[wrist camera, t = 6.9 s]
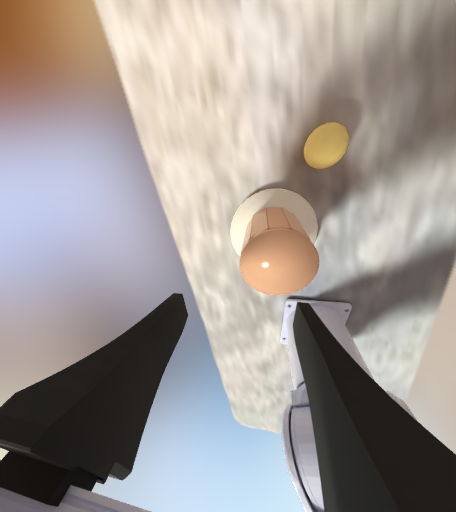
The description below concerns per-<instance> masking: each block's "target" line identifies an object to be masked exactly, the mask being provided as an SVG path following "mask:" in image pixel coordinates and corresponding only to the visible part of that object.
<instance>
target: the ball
mask: <svg viewBox="0 0 456 512" xmlns="http://www.w3.org/2000/svg"><path fill="white" fill-rule="evenodd" d="M348 143H349V135H348V132H347V130H346V128H345V127H344V126H343V125H341V124H339V123H335V122H330V123H326V124H323V125H321V126H319V127H318V128H316V129H315V130H314V131H313V132H312V133H311V134H310V136H309V137H308V139H307V141H306V143H305V146H304V158H305V160H306V162H307V164H308V165H309V166H311V167H313V168H316V169H324V168H328V167H330V166H332V165H334V164H335V163H337V162H338V161H339V160H340V159H341V158H342V156H343V155H344V153H345V152H346V150H347V147H348Z"/></svg>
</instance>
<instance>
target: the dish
mask: <svg viewBox="0 0 456 512" xmlns="http://www.w3.org/2000/svg"><path fill="white" fill-rule="evenodd" d="M269 207H282V208H284V209H286V210H287V211H289V212H291V213H293V214H294V215H295V217H296V218H297V220H298V221H299V223H300V224H301V226H302V227H303V229H304V230H305V232H306V233H307V235H308V236H309V238H310V240H311V242H312V243H313V244H314V242H315V240H316V236H317V231H318V222H317V217H316V214H315V212H314V210H313V208H312V206H311V205H310V204H309V202H307V201H306V200H305V199H304V198H303V197H302V196H300V195H299V194H297V193H295V192H293V191H290V190H287V189H281V188H272V189H266V190H262V191H259V192H257V193H255V194H253V195H251V196H250V197H249V198H247V199H246V200H245V201H244V202H243V203H242V204H241V205H240V206H239V208H238V209H237V211H236V213H235V215H234V217H233V220H232V223H231V240H232V244H233V246H234V248H235V250H236V252H237V253H238V254H239V256H240V257H241V249H242V245H243V240H244V236H245V231H246V227H247V225H248V223H249V222H250V220H251V218H252V216H253V215H254V214H256V213H258V212H259V211H261V210H263V209H264V208H269Z"/></svg>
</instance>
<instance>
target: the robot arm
mask: <svg viewBox="0 0 456 512" xmlns="http://www.w3.org/2000/svg"><path fill="white" fill-rule="evenodd" d="M351 310H352V305H351V304H350V303H342V302H328V301H314V300H300V299H287V300H286V302H285V309H284V317H283V324H282V331H281V338H280V343H281V344H285V345H287V348H288V355H289V362H290V369H291V375H292V382H293V386H294V389H295V390H293V391H291V398H292V403H290V404H288V405H287V406H286V408H285V411H284V415H283V420H282V444H283V452H284V457H285V461H286V465H287V468H288V472H289V475H290V478H291V481H292V483H293V485H294V488H295V489H296V491H297V493H298V496H299V498H300V500H301V503H302V505H303V508H304V510H305V512H456V454H454V453H453V452H452V451H451V450H450V449H448V448H447V447H446V446H445V445H444V444H443V443H442V442H440V441H439V440H438V439H437V438H436V437H435V436H433V435H432V434H431V433H430V432H429V431H428V430H426V429H425V428H424V427H423V426H422V425H421V424H420V423H419V422H418V421H417V420H416V418H415V417H414V415H413V414H412V412H411V411H410V409H409V408H408V406H407V405H406V404H405V402H404V401H403V400H402V399H400V398H398V397H397V396H394V395H393V394H392V393H391V392H389V391H387V392H385V391H384V390H383V389H382V388H381V387H380V386H379V385H378V384H377V383H376V382H375V381H374V379H373V377H372V375H371V373H370V371H369V369H368V368H367V366H366V364H365V362H364V360H363V358H362V356H361V354H360V352H359V350H358V348H357V347H356V345H355V343H354V341H353V339H352V337H351V335H350V333H349V331H348V329H347V327H346V326H345V324H346V321H347V319H348V317H349V314H350V312H351ZM187 317H188V313H187V310H186V306H185V302H184V298H183V295H182V294H177V293H174V294H172V295H171V296H170V297H169V298H167V299H166V300H165V301H164V302H163V303H161V304H160V305H159V306H158V307H157V308H156V309H154V310H153V311H152V312H151V313H149V314H148V315H147V316H146V317H145V318H143V319H142V320H141V321H139V322H138V323H137V324H135V325H134V326H133V327H131V328H130V329H129V330H127V331H126V332H125V333H123V334H122V335H120V336H119V337H117V338H116V339H115V340H113V341H111V342H110V343H109V344H107V345H105V346H104V347H102V348H100V349H99V350H97V351H95V352H94V353H92V354H90V355H89V356H87V357H85V358H84V359H82V360H80V361H78V362H76V363H75V364H73V365H71V366H69V367H67V368H65V369H64V370H62V371H60V372H58V373H56V374H54V375H52V376H50V377H48V378H46V379H44V380H42V381H40V382H38V383H35V384H34V385H31V386H29V387H27V388H25V389H23V390H21V391H19V392H17V393H15V394H14V395H13V396H12V397H11V398H10V399H8V400H7V401H6V402H5V403H4V404H3V405H2V406H1V407H0V448H3V449H5V450H8V451H9V452H8V453H7V454H6V455H5V457H4V458H3V459H2V460H0V512H150V511H147V510H144V509H141V508H138V507H135V506H132V505H129V504H126V503H123V502H120V501H117V500H114V499H111V498H108V497H105V496H102V495H99V494H96V493H93V492H91V491H92V489H93V487H94V485H95V483H96V482H98V483H101V484H104V483H105V482H106V480H107V477H108V476H109V477H113V478H116V479H119V480H123V479H125V478H126V477H127V476H128V475H129V474H130V473H131V472H132V469H133V465H134V461H135V458H136V454H137V451H138V447H139V444H140V441H141V437H142V434H143V431H144V428H145V425H146V422H147V418H148V415H149V412H150V409H151V406H152V404H153V400H154V398H155V395H156V392H157V389H158V386H159V384H160V381H161V378H162V375H163V373H164V371H165V368H166V366H167V364H168V362H169V360H170V357H171V355H172V353H173V351H174V349H175V347H176V345H177V343H178V340H179V338H180V336H181V334H182V332H183V329H184V326H185V323H186V320H187Z"/></svg>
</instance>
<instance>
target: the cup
mask: <svg viewBox="0 0 456 512" xmlns="http://www.w3.org/2000/svg"><path fill="white" fill-rule="evenodd" d="M318 268H319V256H318V252H317V250H316V248H315V246H314V245H313V243H312V242H311V240H310V238H309V236H308V235H307V233H306V232H305V230H304V229H303V227H302V226H301V224H300V223H299V221H298V220H297V218H296V217H295V215H294V214H293V213H291V212H289V211H287V210H286V209H284V208H282V207H269V208H264V209H263V210H261V211H259V212H258V213H256V214H254V215H253V216H252V218H251V220H250V222H249V223H248V225H247V227H246V231H245V236H244V240H243V245H242V249H241V257H240V271H241V274H242V276H243V278H244V279H245V281H246V282H247V283H248V284H249V285H250V286H251V287H253V288H254V289H256V290H257V291H260V292H262V293H265V294H269V295H287V294H291V293H294V292H297V291H299V290H301V289H303V288H304V287H306V286H307V285H308V284H309V283H310V282H311V281H312V280H313V279H314V277H315V275H316V273H317V271H318Z"/></svg>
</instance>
